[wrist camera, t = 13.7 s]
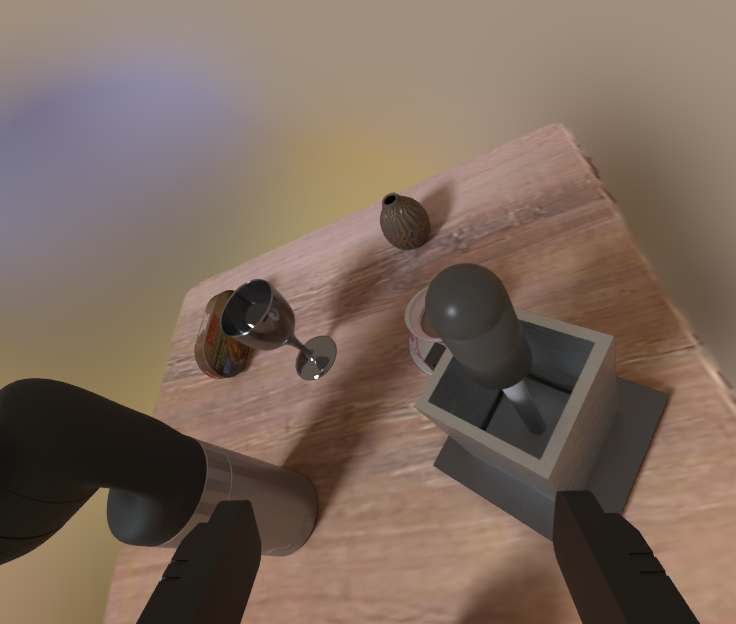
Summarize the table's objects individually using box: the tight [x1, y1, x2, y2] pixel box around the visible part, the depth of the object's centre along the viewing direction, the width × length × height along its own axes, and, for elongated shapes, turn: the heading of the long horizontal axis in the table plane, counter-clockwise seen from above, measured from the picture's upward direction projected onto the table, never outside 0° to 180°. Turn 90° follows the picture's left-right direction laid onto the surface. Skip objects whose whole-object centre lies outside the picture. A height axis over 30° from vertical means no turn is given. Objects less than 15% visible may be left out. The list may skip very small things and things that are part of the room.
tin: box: [195, 290, 249, 379], centre depth 66 cm, size 15×3×8 cm, turn 177°
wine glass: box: [220, 279, 336, 380], centre depth 54 cm, size 8×8×15 cm
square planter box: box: [414, 307, 669, 542], centre depth 34 cm, size 16×16×16 cm
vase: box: [380, 193, 430, 250], centre depth 59 cm, size 7×7×9 cm
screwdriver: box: [425, 263, 571, 460], centre depth 29 cm, size 8×8×25 cm
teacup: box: [401, 286, 447, 375], centre depth 49 cm, size 12×12×6 cm
